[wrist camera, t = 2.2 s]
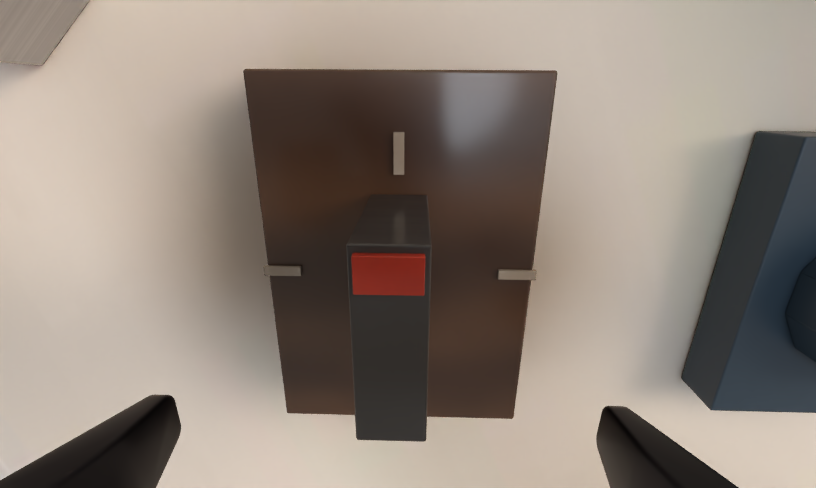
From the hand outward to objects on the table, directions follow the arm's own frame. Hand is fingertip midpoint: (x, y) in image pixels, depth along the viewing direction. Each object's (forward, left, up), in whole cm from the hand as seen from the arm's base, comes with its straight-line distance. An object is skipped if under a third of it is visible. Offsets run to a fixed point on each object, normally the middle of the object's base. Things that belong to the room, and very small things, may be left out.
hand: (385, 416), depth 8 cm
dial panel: (0, 0, -10) cm, 10 cm away
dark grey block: (0, 0, -7) cm, 7 cm away
